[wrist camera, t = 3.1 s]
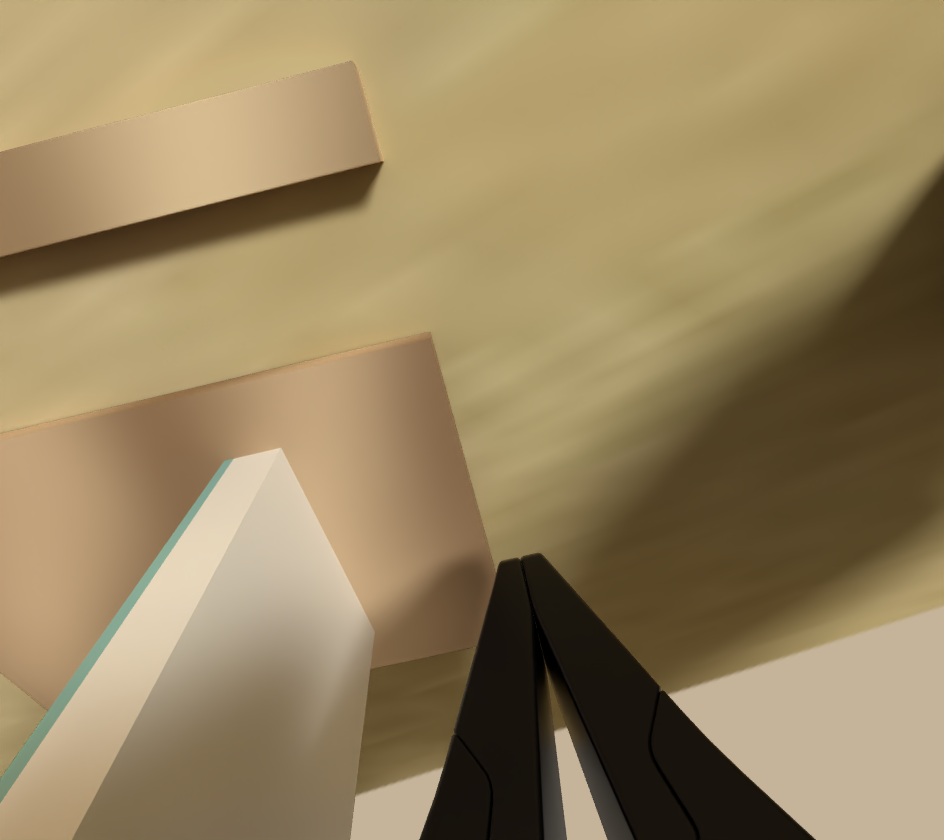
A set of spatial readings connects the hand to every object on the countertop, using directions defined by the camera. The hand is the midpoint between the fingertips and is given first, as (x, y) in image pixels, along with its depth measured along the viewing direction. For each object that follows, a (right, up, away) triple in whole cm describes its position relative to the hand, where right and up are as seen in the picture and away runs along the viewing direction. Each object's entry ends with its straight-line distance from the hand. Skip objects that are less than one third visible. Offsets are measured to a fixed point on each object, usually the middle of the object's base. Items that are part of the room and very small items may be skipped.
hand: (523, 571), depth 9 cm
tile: (-5, 0, +2) cm, 5 cm away
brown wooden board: (-7, -1, +2) cm, 8 cm away
